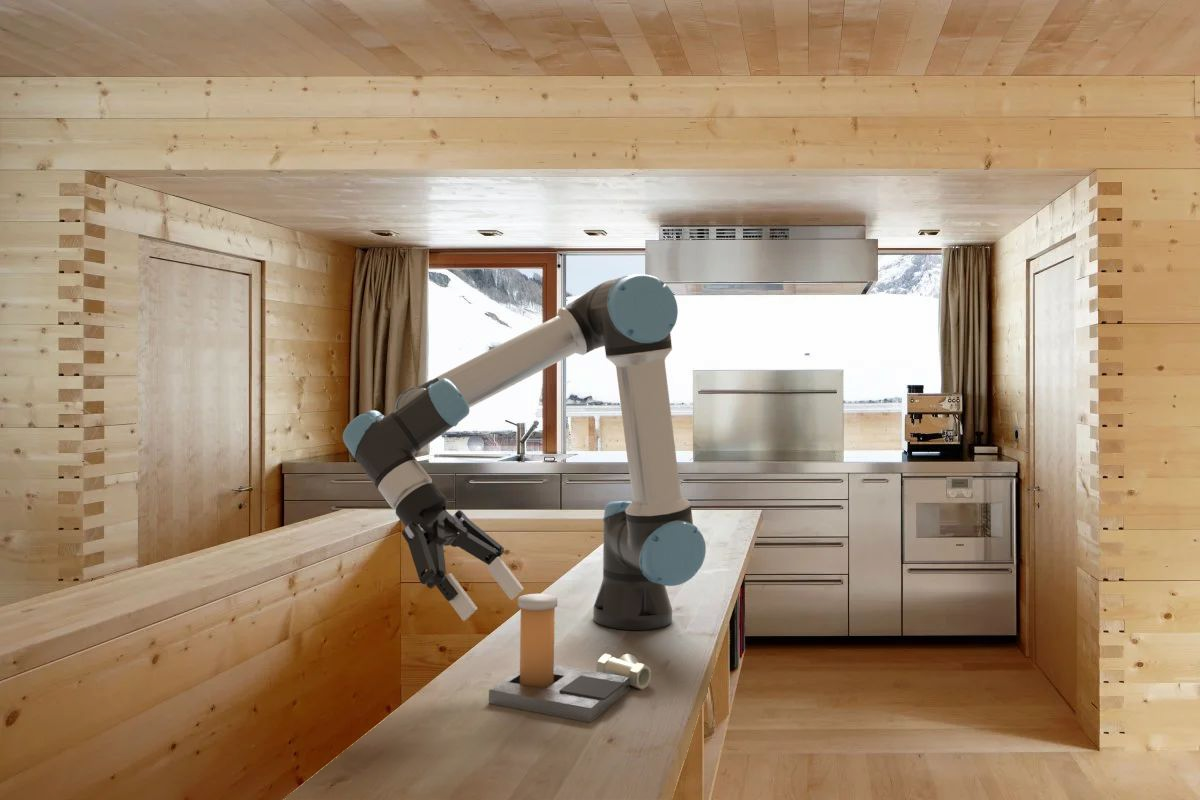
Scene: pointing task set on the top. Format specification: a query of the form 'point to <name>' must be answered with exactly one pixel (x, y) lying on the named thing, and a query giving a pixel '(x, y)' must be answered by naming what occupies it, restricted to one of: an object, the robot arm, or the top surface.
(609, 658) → the pipe fitting
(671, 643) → the top surface
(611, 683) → the pad
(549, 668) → the orange pill bottle
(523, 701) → the plate
